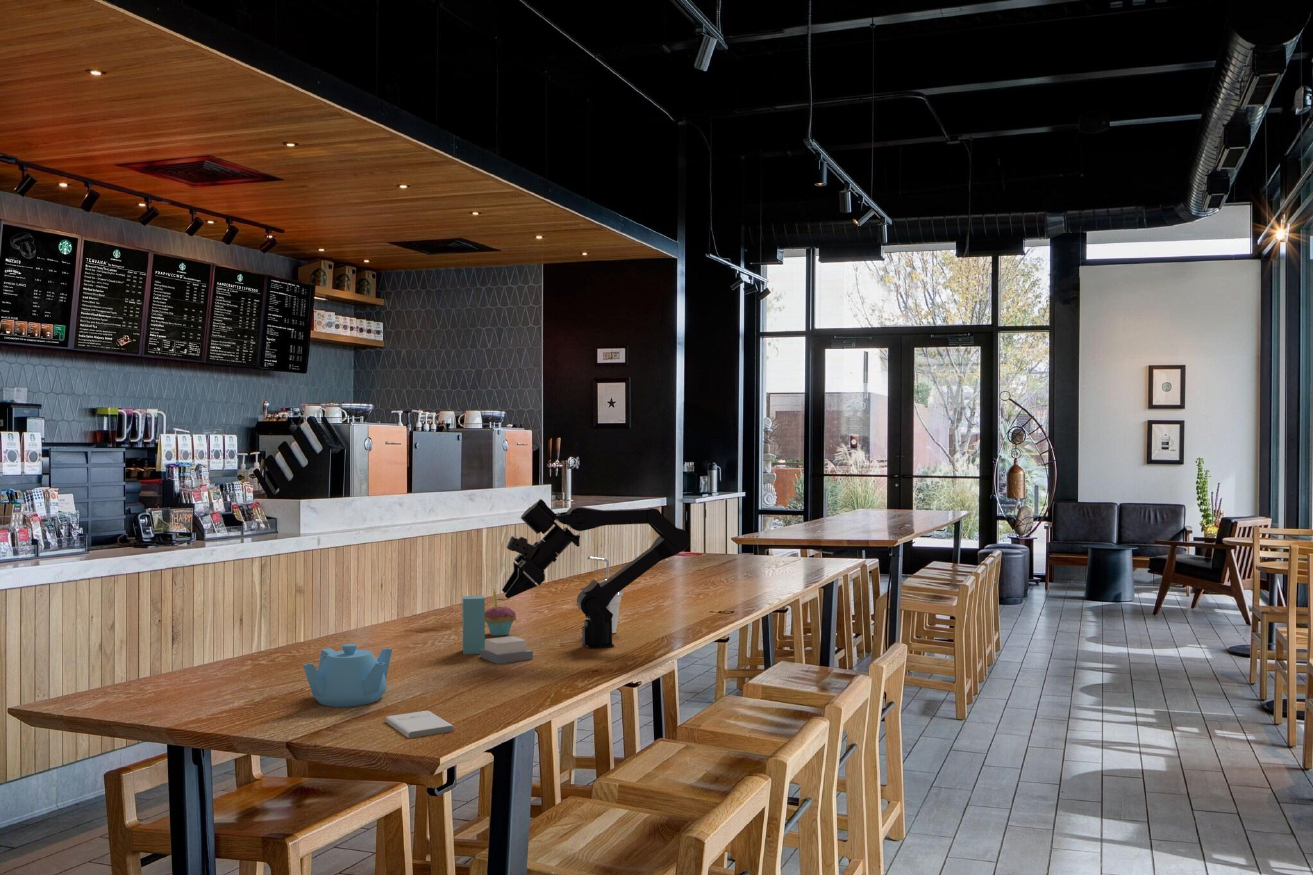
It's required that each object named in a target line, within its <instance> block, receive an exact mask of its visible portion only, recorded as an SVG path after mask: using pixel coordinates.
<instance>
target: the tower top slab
mask: <svg viewBox="0 0 1313 875" xmlns="http://www.w3.org/2000/svg"><path fill="white" fill-rule="evenodd" d="M526 649H527V640H526V639H523V638H520V637H517V636H514V635H509V636H501V637H493V638H485V650H487V651H489V652H492V653H495V654H497V655H500V654H508V653H516V652H524V651H526Z"/></svg>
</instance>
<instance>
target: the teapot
mask: <svg viewBox="0 0 1313 875" xmlns="http://www.w3.org/2000/svg"><path fill="white" fill-rule="evenodd" d="M357 646H358V645H357V644H355V643H346V644H343V645H341V648H342V650H338V651H336V650H334V649H332V648H330V647H329V648H322V649H321V652H320V656H319V662H318V668H316V666H315V664H314V663H311V662H309V663H304V664H302V666H303V669H304V670H303V671H304V672H305V676H306V678H307V682H308V684H309V687H310V690H311V692H312V696H313V697H314V698H315V700H316V701H317V702H318V703H319V704H320V705H322V706H326V707H334V708H347V707H358V706H363V705H369V704H372V703H375V702H377V701H379V700H380V699H381V698H382V696H383V695H384V694H385V693H386V691H387V685H388V684H387V679H388V678H387V677H388V672H389V667H390V663H391V656H392V652H393V648H389V647H387V648H382V649H381V651H380V653H379V655H378V657H377V658H376V657H375V655H374V654H373V653H372V651H369V650H366V649H357Z"/></svg>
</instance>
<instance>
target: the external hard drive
mask: <svg viewBox="0 0 1313 875" xmlns="http://www.w3.org/2000/svg"><path fill="white" fill-rule="evenodd" d="M385 723H387V724H388V725H390V726H391V727H392V728H393V729H394V730H396V731H398V732H399V733H401V734H402V735H404V736H405V737H406V738H407V739H411V738H417V737H425V736H430V735H431V736H432V735H436V734H437V735H439V734H444V733H445V734H446V733H450V732H454V731H455V726H454V725H453V724H451V723H449V722H447V721H446V720H444V719H443V718H441V717H440V716H438V715H436V714H434V713H433V712H432V711H430V710H422V711H416V712H415V711H414V712H408V713H402V714H394V715H387V716H386V717H385Z"/></svg>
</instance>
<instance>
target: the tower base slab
mask: <svg viewBox="0 0 1313 875" xmlns="http://www.w3.org/2000/svg"><path fill="white" fill-rule="evenodd" d="M533 652H534V650H531V649H528V648H526V651H524V652H516V653H508V654H500V655H497V654H495V653H492V652H489V651H487V650H485V649H482V650H480V653H479V654H480V656H479V657H480V658H481V659H483V660H486V661H489V662H492V663H494V664H496V665H497V664H498V665H499V664H508V663H513V662H520V661H528V660H530V661H531V660H533V659H534V655H533V654H534V653H533Z"/></svg>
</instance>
